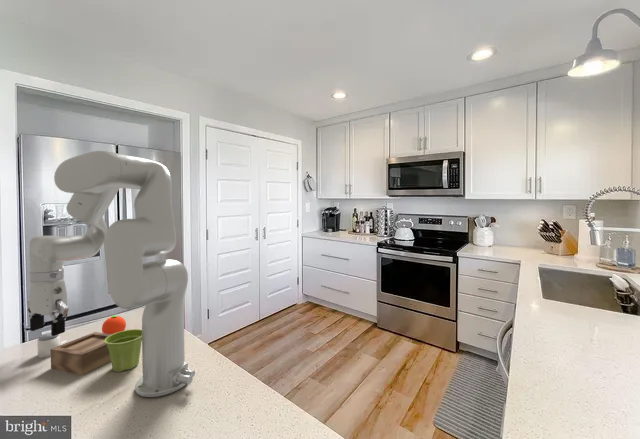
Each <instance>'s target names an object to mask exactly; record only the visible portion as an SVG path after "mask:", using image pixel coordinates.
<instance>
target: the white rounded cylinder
mask: <svg viewBox="0 0 640 439" xmlns="http://www.w3.org/2000/svg"><path fill="white" fill-rule="evenodd" d="M60 345H61V334H58V335H55V336H52V335H51V332H46V333H44V334H41V335H39V336H38V339H37V358H39V359H45V358H49V357H50V358H51V349H52V348H55V347H57V346H60Z"/></svg>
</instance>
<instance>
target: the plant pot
mask: <svg viewBox="0 0 640 439" xmlns="http://www.w3.org/2000/svg"><path fill="white" fill-rule="evenodd" d="M104 342H105V344H107V347H108V349H109V353H110V358H111V361H110V362H111V363H110V364H111V368H112V370H113V371H114V372H120V373H121V372H123V371H126V370H128V371H130V370H132V369H134V368H135V367H137V366H138V365H139V362H140V357H141V350H142V348H141V347H142V329H139V328H132V329H127V330H126V329H125V330H124V331H121V332H117V333H114V334H112V335H110V336H108V337H107V338H106V339H105V340H104Z"/></svg>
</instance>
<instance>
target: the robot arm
mask: <svg viewBox="0 0 640 439" xmlns="http://www.w3.org/2000/svg"><path fill="white" fill-rule="evenodd" d="M53 180H54V185H55V186H56V187H57V188H58V189H59V191H61V192H63V193H67V194H68V193H69V194H72V195H71V198H70V199H69V201H68V203H67V204H66V206H65V207H66V212H67V214H68V215H69V216H70V217H72V218H73V219H75V220H77V221H79V222H81V223H83V224H87V225H89V228H88V229H87V231H86V233H84V234H78V235H77V234H76V235H64V236H60V235H37V236H33V237H31V238H30V240H29V245H28V246H29V254H28V255H29V284H30V288H29V297H28V298H29V299H28V301H27V302H26V305H27V308H28V309H27V311H28V313H29V314H28V317H29V318H30V319H29V330H30V332H34V331H37V330H40V329H43V328H44V327H45V316H50V319H51V320H52V321H51V322H50V324H51V325H50V328H51V329H50V330H51V331H50V333H51V335H52V336H55V335H58V334H59V335H61V334H63V333H65V332H66V320H67V317H68V312H69V310H70V308H69V306H68V305H69V304H68V296H67V295H68V293H67V286H66V281H65V280H64V279H65V276H64V275H65V271H64V270H65V269H64V268H65V267H64V266H65V265H64V264H65V263H66V262H70V261H77V260H86V259H90V258H92V257H95V255H97V253H99V251H100V250H101V248H102V247H103V251H104V256H105V257H104V259H105V266H106V273H107V274H106V275H107V276H106V277H107V283H108V289H109V290H108V291H109V294H110V296H111V299H112V301H113V302H114V304H115V305H116V306H117V307H119V308H121V309H124V310H129V309H136V308H140V307H143V306H144V309H143V312H142V317H141V330H142V342H141V347H142V348H141V351H142V352H141V354H142V355H141V357H142V358H141V360H142V363H141V364H142V376H141V377H140V378H138V380H137V381H136V382H135V392H136V394H137V395H139V396H141V397H144V398H145V397H146V398H155V397H156V398H157V397H162V396H166V395H169V394H172V393H174V392H176V391H179V390H180V389H182V388H183V387H185V386H186V385H191V383H192V382H193V379H194V378H193V377H194V376H196V375H195V374H196V372H195V370H191V369H190V368H189V365H188V364H189V362H186V361H185V299H186V292H187V288H188V287H187V286H188V281H189V274H188V270H187V268H186V266H185V265H184V264H183V262H180V261H178V260H176V259H170V258H169V259H161V260H160V259H159V260H154V261H149V262H146V263H144V260H143V259H145V258H149V257H150V258H151V257H155V256H160V255H165V254H168V253H170V252H172V251H173V250H174V249H175V248H176V245H177V233H176V223H175V215H174V208H173V201H172V200H173V198H172V196H173V195H172V194H173V193H172V191H173V181H172V176H171V174H170V171H169V170H168V168H167V167H166V166H165V165H164V164H162V163H160V162H158V161H156V160H152V159H151V160H150V159H147V158H143V157H140V156H139V157H138V156H132V155H126V154H123V153H117V152H113V151H107V150H95V151H94V150H93V151H89V152H85V153H83V154H80V155H77V156H73V157H70V158H68V159H66V160H64V161H62V162H61V163H60V164H59V165H58V166H57V168H56V170H55V172H54V176H53ZM120 189H129V190H130V189H131V190H138V193H137V194H136V196H135V199H134V204H133V207H134V212H135V213H134V214H135V218H122V219H118V220H116V221H114V222H112V223H111V225H109V226H108V225H107V223H106V221H105V218H104V216H105V214H106V212H107V210H108V208H109V207H110V205H111V204H112V202H113V200H114V199H115V197H116V196H117V194H118V192H119V191H120Z"/></svg>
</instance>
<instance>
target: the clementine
mask: <svg viewBox="0 0 640 439" xmlns="http://www.w3.org/2000/svg"><path fill="white" fill-rule="evenodd" d="M126 326H127V322H126V320H125V318H124V317H122V316H120V315H112V316H110V317H108V318H107V319H105V321H103V323H102V327H101V331H102V332H101V333H106V334H114V333H117V332H121V331H125V330H126V328H127V327H126Z"/></svg>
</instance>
